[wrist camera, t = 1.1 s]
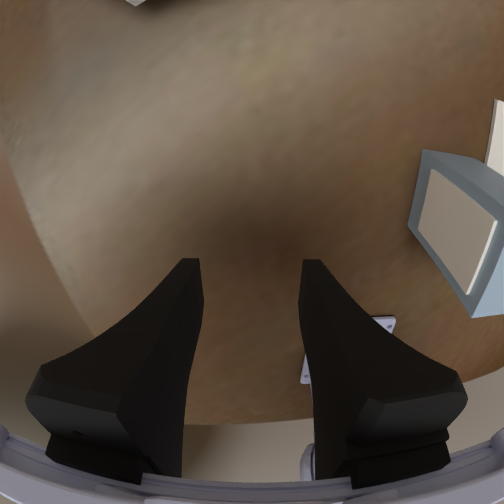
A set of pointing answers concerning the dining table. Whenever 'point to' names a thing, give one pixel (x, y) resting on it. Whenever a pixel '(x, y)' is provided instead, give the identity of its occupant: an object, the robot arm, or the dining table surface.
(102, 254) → the dining table surface
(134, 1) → the die
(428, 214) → the block
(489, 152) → the mat
